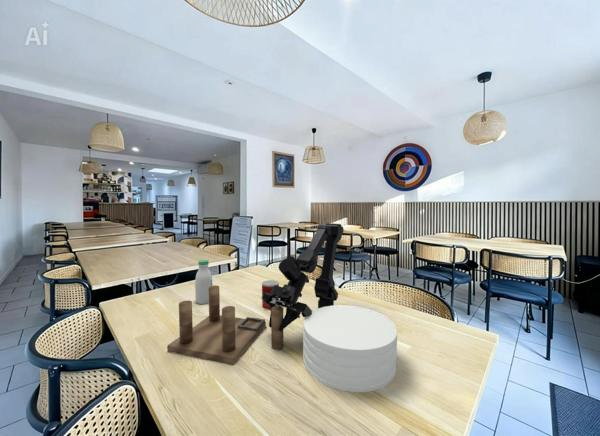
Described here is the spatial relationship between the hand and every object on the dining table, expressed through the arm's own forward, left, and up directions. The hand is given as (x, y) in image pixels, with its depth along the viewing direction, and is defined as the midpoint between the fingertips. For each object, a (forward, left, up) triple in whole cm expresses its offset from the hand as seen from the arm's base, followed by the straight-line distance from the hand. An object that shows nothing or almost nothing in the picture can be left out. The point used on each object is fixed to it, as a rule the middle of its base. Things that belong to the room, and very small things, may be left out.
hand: (274, 328), depth 85 cm
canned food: (+10, -33, -7) cm, 35 cm away
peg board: (+20, -3, -7) cm, 22 cm away
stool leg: (-1, -1, -7) cm, 7 cm away
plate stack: (-24, +2, -7) cm, 25 cm away
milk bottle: (+43, -33, -7) cm, 55 cm away
